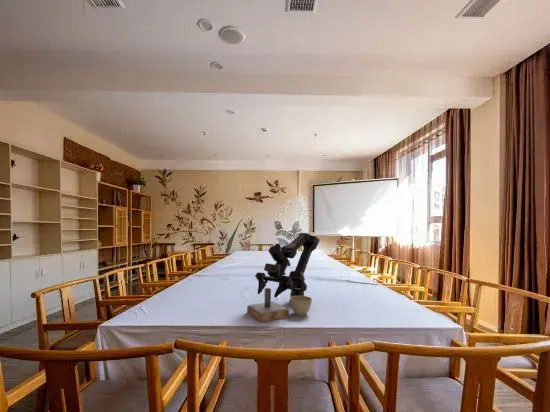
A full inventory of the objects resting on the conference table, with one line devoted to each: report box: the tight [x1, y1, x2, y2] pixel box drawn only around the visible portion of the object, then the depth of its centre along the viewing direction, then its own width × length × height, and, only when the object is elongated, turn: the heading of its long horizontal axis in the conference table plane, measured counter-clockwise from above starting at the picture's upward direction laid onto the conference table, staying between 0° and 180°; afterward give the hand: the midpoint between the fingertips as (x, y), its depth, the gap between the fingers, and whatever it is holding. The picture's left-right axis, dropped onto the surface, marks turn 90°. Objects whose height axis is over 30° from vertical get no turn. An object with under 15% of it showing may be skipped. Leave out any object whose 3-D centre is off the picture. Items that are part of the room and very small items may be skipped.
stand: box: [246, 305, 290, 323], centre depth 130 cm, size 14×14×3 cm
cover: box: [248, 287, 288, 314], centre depth 131 cm, size 13×13×9 cm
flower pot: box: [289, 295, 312, 317], centre depth 132 cm, size 10×10×7 cm
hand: (266, 295), depth 130 cm, fingers open, 9 cm apart
